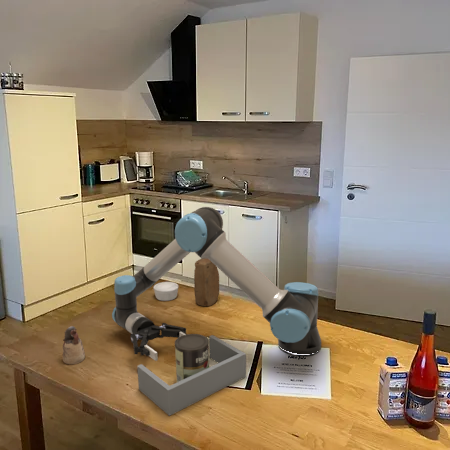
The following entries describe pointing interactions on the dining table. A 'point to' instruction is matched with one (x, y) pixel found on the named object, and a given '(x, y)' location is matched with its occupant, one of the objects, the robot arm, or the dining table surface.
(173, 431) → the dining table surface
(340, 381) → the dining table surface
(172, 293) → the ramekin
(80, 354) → the figurine
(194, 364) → the coffee can
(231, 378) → the grey u-shaped bracket
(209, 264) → the block
